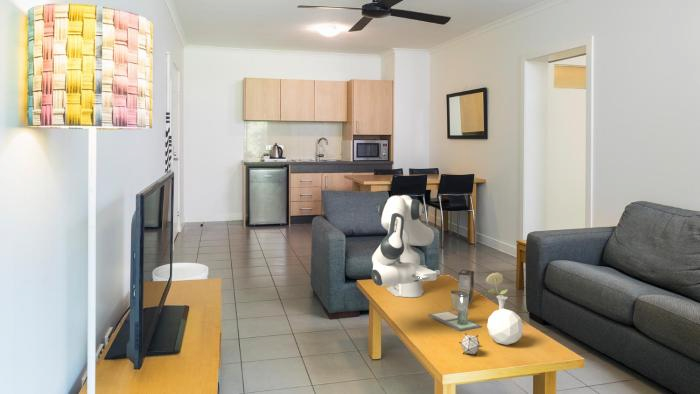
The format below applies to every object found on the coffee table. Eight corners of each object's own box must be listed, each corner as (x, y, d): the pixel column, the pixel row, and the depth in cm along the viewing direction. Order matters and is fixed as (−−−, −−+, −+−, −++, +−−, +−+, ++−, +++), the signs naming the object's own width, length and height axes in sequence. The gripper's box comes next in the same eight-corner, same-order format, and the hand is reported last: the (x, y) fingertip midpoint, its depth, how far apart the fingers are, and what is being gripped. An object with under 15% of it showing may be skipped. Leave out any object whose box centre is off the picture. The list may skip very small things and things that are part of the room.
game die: (465, 361, 206) (454, 338, 210) (484, 354, 206) (473, 330, 210) (467, 359, 198) (456, 334, 202) (487, 351, 198) (475, 327, 202)
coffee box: (461, 298, 281) (462, 269, 280) (473, 299, 278) (474, 270, 277) (457, 302, 273) (458, 272, 271) (469, 304, 270) (470, 274, 268)
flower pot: (468, 312, 257) (468, 295, 256) (449, 311, 258) (449, 294, 258) (467, 306, 266) (468, 290, 265) (449, 305, 268) (449, 289, 267)
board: (427, 315, 251) (428, 314, 251) (449, 312, 257) (449, 310, 257) (459, 331, 230) (459, 329, 230) (481, 327, 236) (481, 325, 236)
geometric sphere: (494, 354, 217) (474, 323, 221) (518, 336, 224) (498, 306, 227) (512, 349, 205) (490, 316, 208) (537, 330, 211) (515, 298, 215)
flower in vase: (514, 323, 241) (516, 271, 239) (513, 331, 230) (515, 277, 228) (485, 320, 245) (487, 268, 243) (483, 327, 235) (485, 274, 232)
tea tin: (454, 322, 239) (455, 293, 238) (463, 321, 241) (464, 292, 240) (461, 325, 235) (462, 296, 233) (469, 324, 237) (470, 294, 236)
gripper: (420, 271, 214) (447, 268, 221) (394, 261, 233) (419, 258, 239) (420, 286, 215) (446, 282, 222) (394, 274, 233) (419, 271, 240)
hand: (432, 269), depth 230 cm, fingers open, 8 cm apart
